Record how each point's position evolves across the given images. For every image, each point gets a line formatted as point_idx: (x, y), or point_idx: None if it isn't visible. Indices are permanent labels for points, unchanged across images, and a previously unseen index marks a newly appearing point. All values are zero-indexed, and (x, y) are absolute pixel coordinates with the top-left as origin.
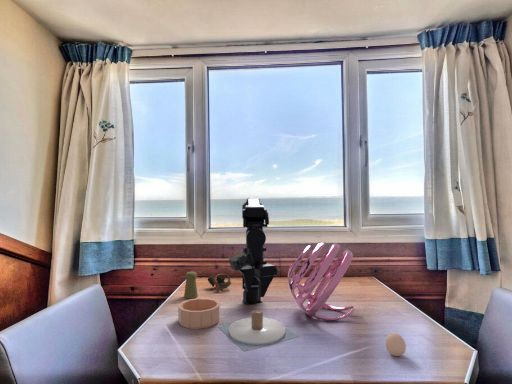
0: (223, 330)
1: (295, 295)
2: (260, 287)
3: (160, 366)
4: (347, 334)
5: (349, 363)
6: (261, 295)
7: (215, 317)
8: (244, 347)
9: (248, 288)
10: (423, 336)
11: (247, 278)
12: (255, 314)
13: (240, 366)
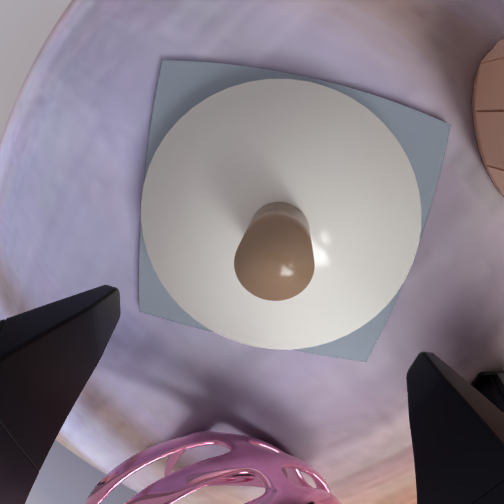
0: (405, 113)
1: (261, 480)
2: (8, 320)
3: None
4: (107, 394)
5: (8, 276)
6: (91, 294)
7: (496, 141)
8: (187, 77)
9: (421, 374)
10: (64, 431)
11: (469, 459)
12: (252, 232)
13: (110, 17)
